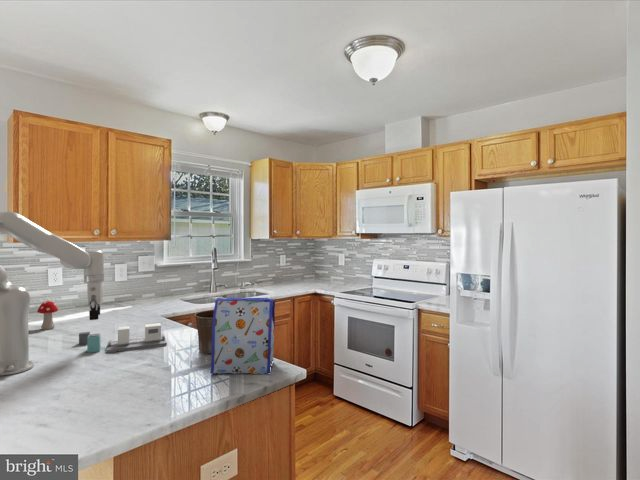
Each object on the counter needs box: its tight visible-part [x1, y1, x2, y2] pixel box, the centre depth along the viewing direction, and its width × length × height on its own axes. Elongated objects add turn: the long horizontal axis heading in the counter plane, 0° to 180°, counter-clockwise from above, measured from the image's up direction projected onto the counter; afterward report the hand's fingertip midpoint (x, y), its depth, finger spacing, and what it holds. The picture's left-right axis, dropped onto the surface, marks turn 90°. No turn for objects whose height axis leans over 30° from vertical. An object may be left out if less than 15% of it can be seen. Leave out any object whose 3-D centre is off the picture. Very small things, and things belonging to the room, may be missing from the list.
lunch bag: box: [210, 297, 276, 375], centre depth 139 cm, size 23×17×27 cm
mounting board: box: [105, 335, 168, 354], centre depth 169 cm, size 14×24×1 cm, turn 117°
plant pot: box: [194, 309, 214, 355], centre depth 161 cm, size 16×16×16 cm
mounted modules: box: [117, 322, 162, 344], centre depth 169 cm, size 6×18×6 cm, turn 117°
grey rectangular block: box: [78, 331, 91, 346], centre depth 171 cm, size 3×4×5 cm
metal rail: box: [107, 334, 166, 347], centre depth 169 cm, size 4×23×2 cm, turn 117°
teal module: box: [86, 332, 102, 354], centre depth 161 cm, size 6×4×7 cm
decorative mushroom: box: [37, 300, 59, 331], centre depth 199 cm, size 10×9×15 cm
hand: (95, 317), depth 161 cm, fingers open, 9 cm apart
